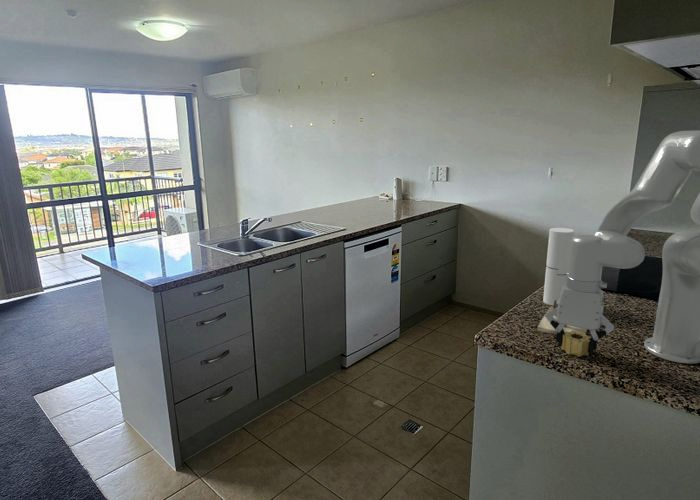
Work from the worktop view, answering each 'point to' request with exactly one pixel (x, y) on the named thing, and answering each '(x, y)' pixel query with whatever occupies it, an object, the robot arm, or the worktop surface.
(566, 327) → the gear board
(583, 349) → the brass gear
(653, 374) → the worktop surface
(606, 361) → the worktop surface
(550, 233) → the cylindrical container
